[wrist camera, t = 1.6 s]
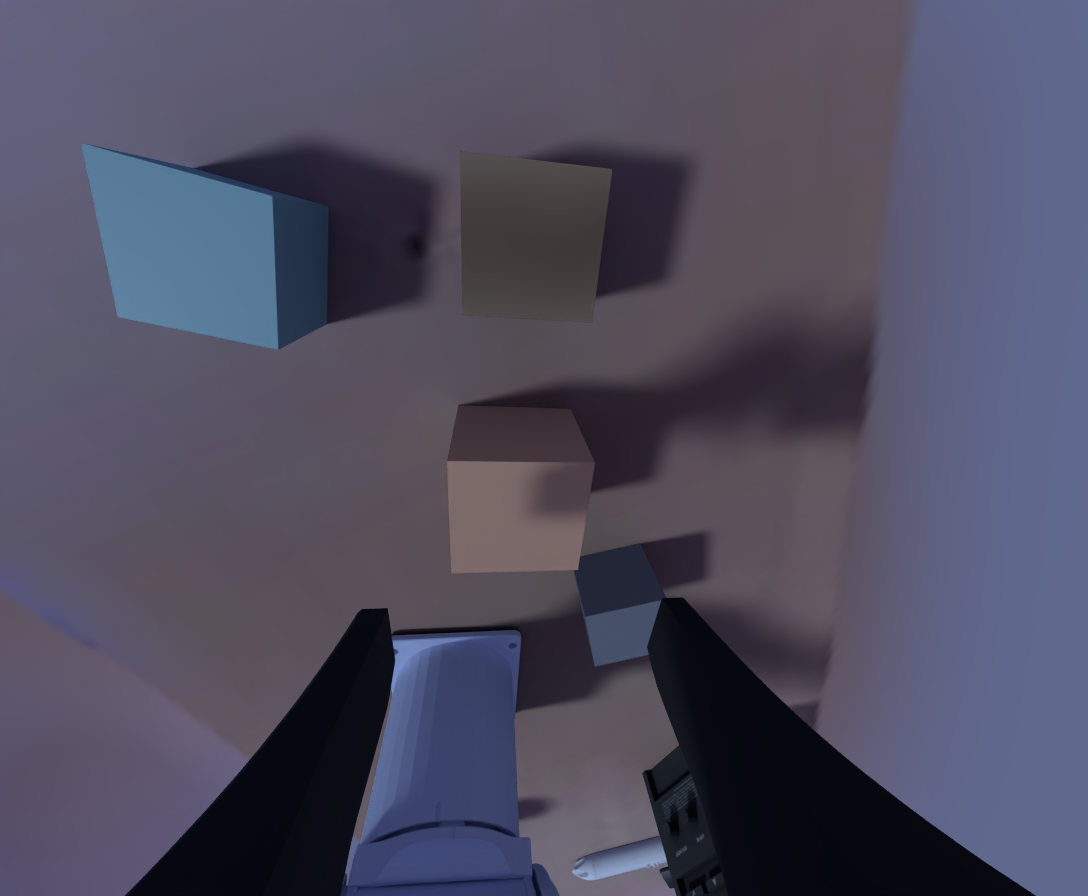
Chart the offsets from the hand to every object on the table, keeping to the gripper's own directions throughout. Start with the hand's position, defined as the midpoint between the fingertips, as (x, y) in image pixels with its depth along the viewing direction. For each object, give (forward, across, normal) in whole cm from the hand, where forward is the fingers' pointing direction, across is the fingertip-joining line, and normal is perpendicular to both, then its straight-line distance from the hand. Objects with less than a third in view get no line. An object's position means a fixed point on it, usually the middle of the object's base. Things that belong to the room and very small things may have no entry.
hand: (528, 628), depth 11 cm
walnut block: (+10, 0, -9) cm, 13 cm away
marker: (+10, -17, +48) cm, 52 cm away
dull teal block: (+10, +9, -8) cm, 15 cm away
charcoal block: (+10, -6, +8) cm, 14 cm away
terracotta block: (+10, 0, 0) cm, 10 cm away
